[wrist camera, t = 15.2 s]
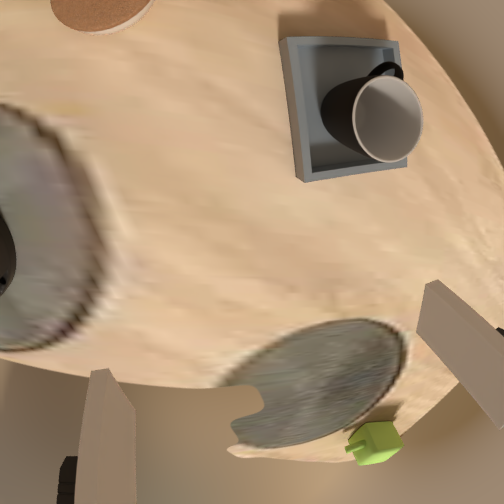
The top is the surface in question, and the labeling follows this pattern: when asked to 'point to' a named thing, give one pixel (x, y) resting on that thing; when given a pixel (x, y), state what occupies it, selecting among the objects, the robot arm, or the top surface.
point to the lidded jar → (100, 14)
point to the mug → (375, 115)
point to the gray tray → (313, 92)
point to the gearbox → (374, 442)
